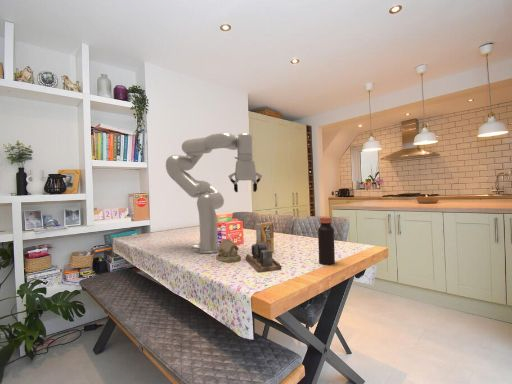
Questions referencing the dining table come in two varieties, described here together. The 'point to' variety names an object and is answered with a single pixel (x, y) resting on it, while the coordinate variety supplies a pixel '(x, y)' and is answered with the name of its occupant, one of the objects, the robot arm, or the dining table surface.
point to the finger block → (259, 247)
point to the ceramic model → (228, 252)
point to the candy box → (265, 234)
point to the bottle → (326, 241)
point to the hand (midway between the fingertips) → (245, 191)
